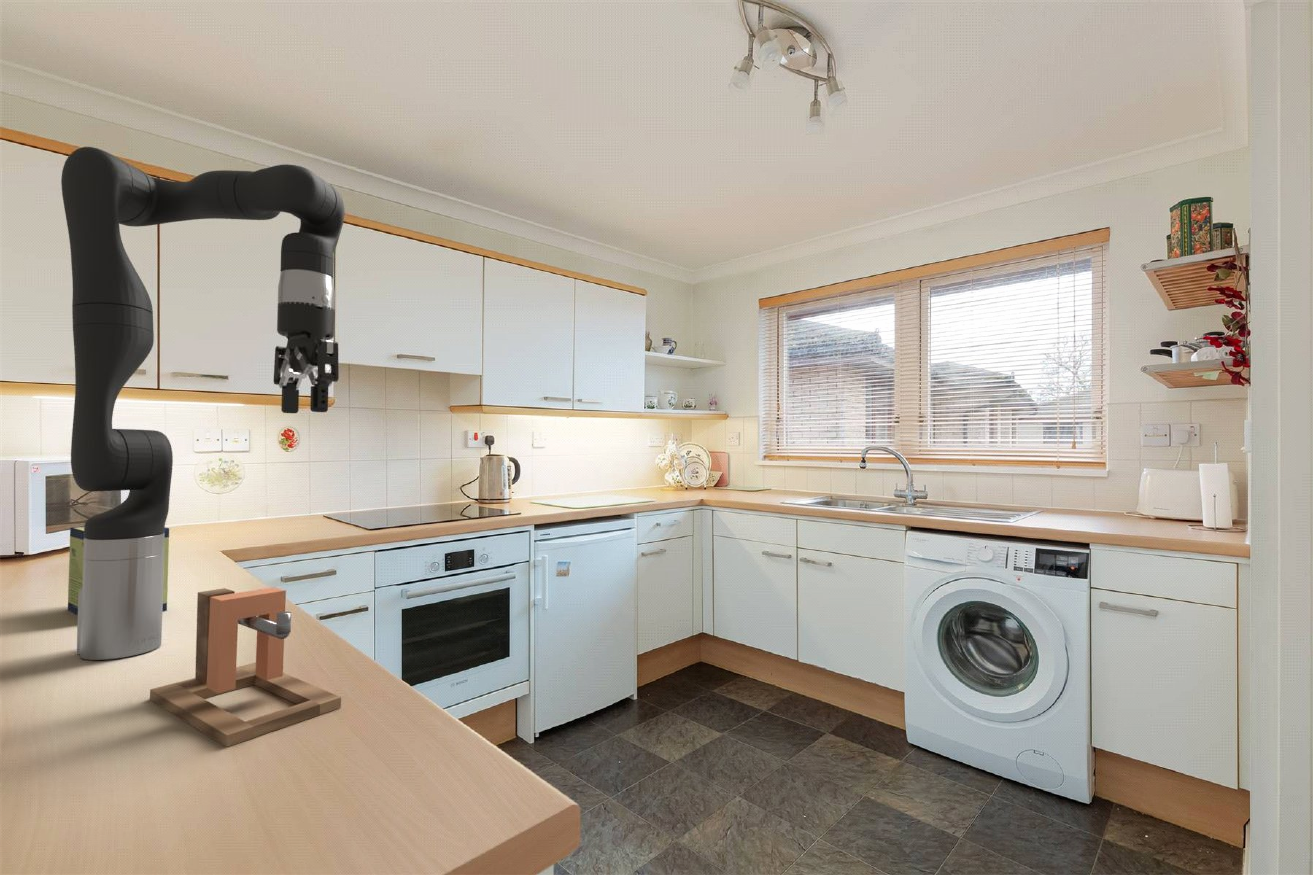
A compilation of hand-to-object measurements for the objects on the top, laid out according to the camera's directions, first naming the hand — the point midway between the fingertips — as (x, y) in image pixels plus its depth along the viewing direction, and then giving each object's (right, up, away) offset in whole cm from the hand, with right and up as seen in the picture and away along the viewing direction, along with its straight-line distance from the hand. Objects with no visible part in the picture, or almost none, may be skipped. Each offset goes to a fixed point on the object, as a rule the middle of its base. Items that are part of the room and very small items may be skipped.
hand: (304, 412), depth 93 cm
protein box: (-47, -36, +22) cm, 64 cm away
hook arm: (+5, -26, -19) cm, 33 cm away
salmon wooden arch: (+4, -33, -19) cm, 38 cm away
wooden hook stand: (+3, -36, -19) cm, 41 cm away
